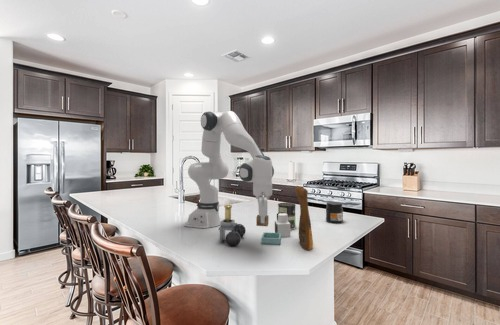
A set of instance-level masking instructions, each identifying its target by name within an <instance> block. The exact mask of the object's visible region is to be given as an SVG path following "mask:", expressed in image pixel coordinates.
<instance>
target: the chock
mask: <svg viewBox="0 0 500 325" xmlns="http://www.w3.org/2000/svg"><path fill="white" fill-rule="evenodd" d="M269 217H270V216H269V215H268V214H267V216H265V223H261V217H260V216H259V214H257V216H256V217H255V218H256V221H255V222H256V226H257V227H269Z"/></svg>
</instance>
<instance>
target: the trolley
mask: <svg viewBox="0 0 500 325" xmlns="http://www.w3.org/2000/svg"><path fill="white" fill-rule="evenodd" d="M235 221H236V220H235V219H231V222H225V218H224V219H222V220H220V222H221V224H220V225H219V227H218V231H219V243H220V244H222V243H223V242H224V241H225V243H226V244H227V246H229V247H231V248H235V247H238V245H239V244H240V242H241V238H243V237H244V236H245V234H246V227H245V225H243V224H241V223H238V222H235ZM226 231H228V233H227V234H226Z"/></svg>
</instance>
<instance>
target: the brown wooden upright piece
mask: <svg viewBox="0 0 500 325" xmlns="http://www.w3.org/2000/svg"><path fill="white" fill-rule="evenodd" d="M294 189H295V193H296V195H297V196H296V197H297V200H298V203H299V209H300V211H299V212H300V213H299V214H300V215H299V221H298V222H299V223H298V240H299V243H300V246H301V248H302V249H303V250H305V251H311V250H312V249H313V248H314V240H313V232H312V222H311V216H310V212H309V203H308V201H309V199H308V192H309V191H308V189H306V188H304V187H302V186H299V185H296V186H295V187H294Z"/></svg>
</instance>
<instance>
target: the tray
mask: <svg viewBox="0 0 500 325" xmlns="http://www.w3.org/2000/svg"><path fill="white" fill-rule="evenodd" d="M281 241H282V237H281V233H275V232H266V231H265V232H263V233H262V236H261V245H270V246H271V245H272V246H280V245H281Z"/></svg>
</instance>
